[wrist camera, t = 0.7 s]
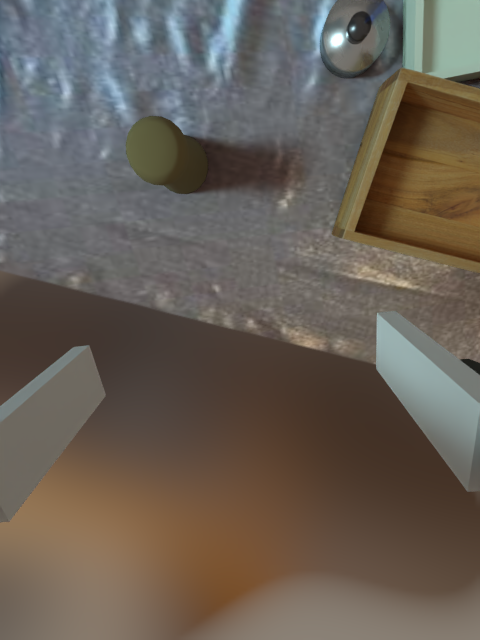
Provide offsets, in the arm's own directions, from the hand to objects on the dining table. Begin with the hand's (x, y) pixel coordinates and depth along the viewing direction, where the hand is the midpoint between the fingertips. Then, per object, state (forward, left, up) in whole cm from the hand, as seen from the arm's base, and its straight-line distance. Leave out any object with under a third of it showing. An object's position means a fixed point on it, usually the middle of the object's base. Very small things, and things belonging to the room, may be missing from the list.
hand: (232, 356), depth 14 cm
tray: (-3, +28, -27) cm, 38 cm away
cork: (-12, -5, -26) cm, 29 cm away
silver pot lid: (-20, +14, -26) cm, 35 cm away
